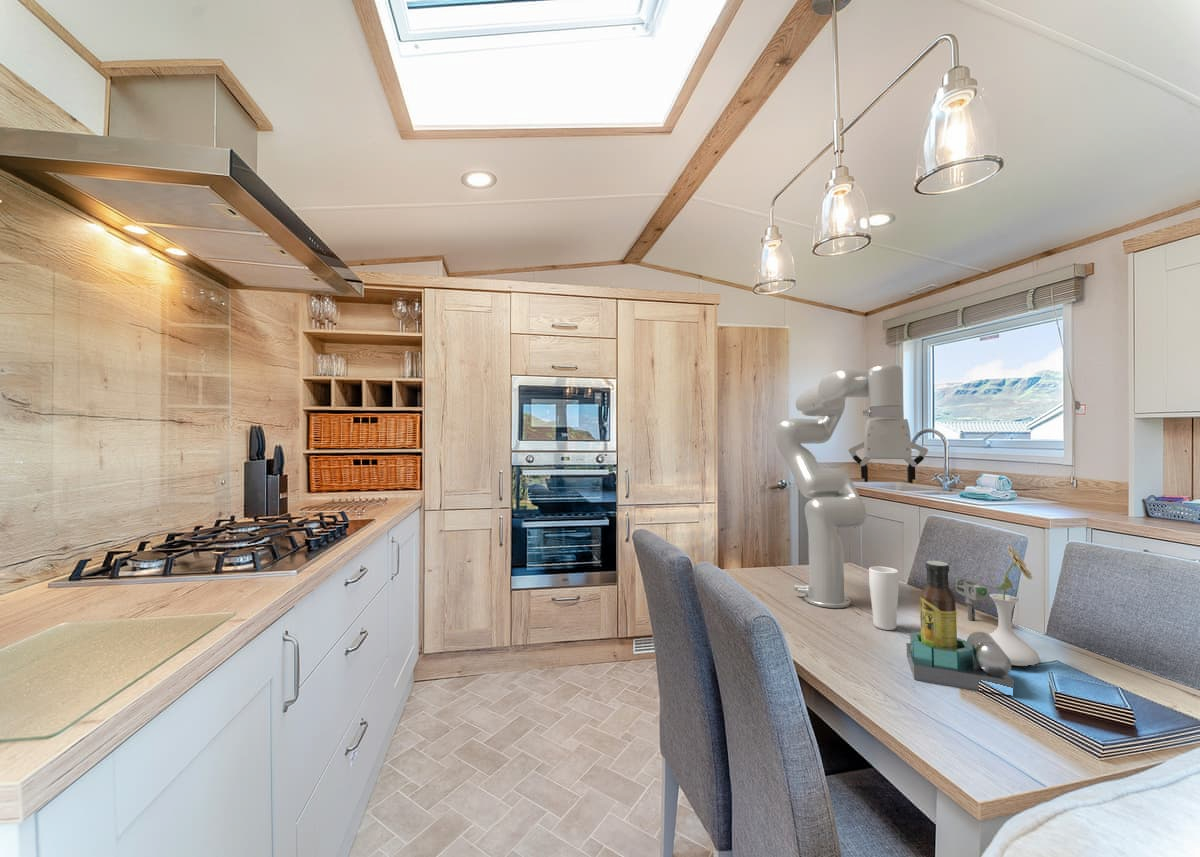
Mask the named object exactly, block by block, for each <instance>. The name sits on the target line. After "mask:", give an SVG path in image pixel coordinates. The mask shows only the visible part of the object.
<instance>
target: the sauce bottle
mask: <svg viewBox="0 0 1200 857" xmlns="http://www.w3.org/2000/svg"><path fill="white" fill-rule="evenodd" d="M925 569H926V585H925V586H924V587H923V589H922V590H921V595H920V598H919V599H920V600H919V601H920V632H921V642H923V643H926V644H928V645H931V646H933V647H938V648H945V649H952V650H956V649H957V638H958V631H957V627H958V626H957V623H958V622H957V608H956V602H957V601H956V600H957V599H956V596H955V594H954V593H953V591H952V590H951V588H950V586H949V585H950V584H949V583H950V582H949V572H950V565H949V563H948V562H944V561H938V560H927V561H926V562H925Z"/></svg>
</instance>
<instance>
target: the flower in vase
mask: <svg viewBox="0 0 1200 857" xmlns="http://www.w3.org/2000/svg"><path fill="white" fill-rule="evenodd" d="M1006 549H1007V551H1008V553H1009V555H1010V557H1011V559H1012V563H1011V565H1010V566H1009V568H1008V569H1007V570H1006V572H1005V574H1004V578H1003V583H1002V584H1001V585H1000V586H998V587H997V588H996V589H997V590H1001V591H1002V593H990V594H989V597H990V598H991V600H993V602H994V605H995V607H996V611H997V616H998V617H997V622H998V624H997V627H996V629H995V630H994V631H992V632H990V633H988V634H989V635H990V636H991V637H992V638H993V639H994V640H995V641H996V643H997V644H998V645H999V646H1000V648H1001V649H1002V650H1003V651H1004V653H1005V654H1006V655H1007V657H1008V658H1009V659H1010V661H1011V666H1017V667H1029V666H1028V665H1032V666H1036V665H1037V664H1038V663H1040V661H1041V658H1040V655H1039V654H1038V653H1037V651H1036V650H1034V648H1033V647H1031V646H1030V645H1029V644H1028V643H1026V642H1025V641H1024V640H1022V639H1021V638H1020V637H1019V636H1018V635H1017V634H1016V633H1015V632H1014V630H1013V626H1012V614H1013V613H1012V612H1013V610H1014V609H1013V608H1014V607H1015V605H1016V603H1017V602H1019V600H1020V599H1019V598H1018V597H1016V596H1013V595H1009V594H1006V591H1007V590H1009V589H1013V588H1014V585H1013V583H1012V581H1011V579H1010V578H1009V577H1008V576H1009V573H1010V571H1011V570H1012V568H1013V567H1014V566H1015V567H1018V569H1019V570H1020V572H1021V573H1022V574H1023V576H1025V577H1026V578H1027V579H1028V580H1033V577H1032V576H1033V574H1032V572H1030V570H1029V569H1028V568H1026V567H1027V565H1026V563H1025V561H1022V560H1021V557H1020V555H1019V553H1018V552H1017V551H1016V552H1015V549H1014V547H1013V545H1009V544H1007V545H1006ZM1035 664H1036V665H1035Z"/></svg>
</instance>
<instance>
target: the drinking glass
mask: <svg viewBox="0 0 1200 857" xmlns="http://www.w3.org/2000/svg"><path fill="white" fill-rule="evenodd" d="M868 584H869V585H868V586H869V587H868V588H869V594H870V595H869V596H870V603H871V612H872V625H873V626H874V627H875V628H877V629H880V630H884V631H894V630H896V629H897V625H898V624H897V621H898V620H897V617H898V603H899V602H898V601H899V593H900V592H899V591H900V590H899V589H900V577H899V570H898V569H896V568H892V567H887V566H880V565H879V566H876V565H875V566H870V567H869V568H868Z"/></svg>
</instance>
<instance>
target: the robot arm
mask: <svg viewBox="0 0 1200 857" xmlns="http://www.w3.org/2000/svg"><path fill="white" fill-rule="evenodd" d="M903 377H904V376H903V369H902V367H901V366H900V365H897V364H881V365H874V366H872V367H871V368H869V369H862V368H842V369H839V370H836V371H833V372H831V373H829V374H826V375H824V376H823V377H822V378H821V380H820V381H819V383H818V385H816V386H814V387H812V388H809V389H807V390H805V391H803V392H801V393H800V394H799V395H798V396H797V397H796V400H795V408H796V410H797V411H798V413H800V414H801V415H804V416H806V417H818V418H805V417H804V418H803V417H801V418H786V419H784V420H781V421H780V422H778V424H777V425H776V427H775V433H774V436H775V442H776V446H777V449H778V451H779V452H780V454H781V455H782V457H783V458H784V461H786V463H787V465H788V467H789V469H790V471H791V474H792V476H793V479H794V482H795V483H796V485H797V488H798V490H799V491H800V493H801V495H803V497H805V498H808V499H810V500H809V501H807V502H806V504H805V505H804V517H805V522H806V525H807V526H806V527H807V532H808V533H807V535H808V560H809V563H808V564H809V565H808V568H809V570H808V571H809V582H808V584H805V585H803V584H802V585H801V584H798V583H797V584H796V583H794V585H793V589H794V591H796V592H797V593H801V594H804V600H805V602H807V603H808V602H809V604H811V605H814V606H817V607H821V608H829V609H842V608H848V607H850V606H851V599H849V598H848V597H847V596H845V562H844V561H845V560H844V559H845V558H844V557H845V556H844V545H843V544H844V543H843V541H842V539H841V537H840V535H839V534H838V532H837V530H838V529H853V528H854V529H856V528H859V527H861V526H863V525H864V524H865V523H866V520H867V510H866V506H865V505H864V501H863V500H862V498H861V496H860V495H859V492H858V490H857V489H856V486H855V484H854V482H853V481H852V479H851V477H850V476H849V475H848V473H847V472H846V471H844V470H842V469H840V468H833V467H830V468H828V467H826V468H825V467H821V466H820V464H819V463H818V461H817V459H816V457H815V455H814V454H813V453H812V452H811V451H810V450H809V449H807V448H806V447H805V446H803V444H805V445H806V444H812V445H813V444H816V445H817V444H825V443H827V442H828V441H829V440H830V439H831V438H832V436H833V434H834V432H835V430H836V428H837V426H838V424H839V422H840V420H841V418H842V416H843V414H844V411H845V407H846V400H847V398H868V408H867V409H866V410H862V416H866V417H868V418H869V419H867V420H865V426H864V435H863V437H864V438H863V442H861V443H859V444H857V445H854V446H853V447H850V448H849V449H848V453H849V455H850V456H851V458H852V459H853V461H855V462H856V463H857V464H858V465H859V466H860V476H861V478H860V479H863V481H864V483H868V482H869V473H868V472H869V468H868V466H867V464H868V463H869V462H870V460H872V459H873V460H904V461H905V462H906V463H907V464H908V466H907V472H906V473H907V483H909V484H913V481H915V480H916V467H917V466H918V464H921V462H922V461H923V460H924V459H925V457H926V455H927V454H928V452H929V449H928V448H926V447H924V446H922V445H919V444H917V443H915V442H913V441H912V439H911V429H910V425H909V419H907V418H905V416H904V415H905V414H904V378H903ZM861 449H863V451H864V457H863V458H862V459H861V457H860V456H858V454H857V451H859V450H861ZM913 449H914V450H916V451H918V452H919V454H918V455H917V456H916V457H915V458H914V459H913V458H912V450H913Z"/></svg>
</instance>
